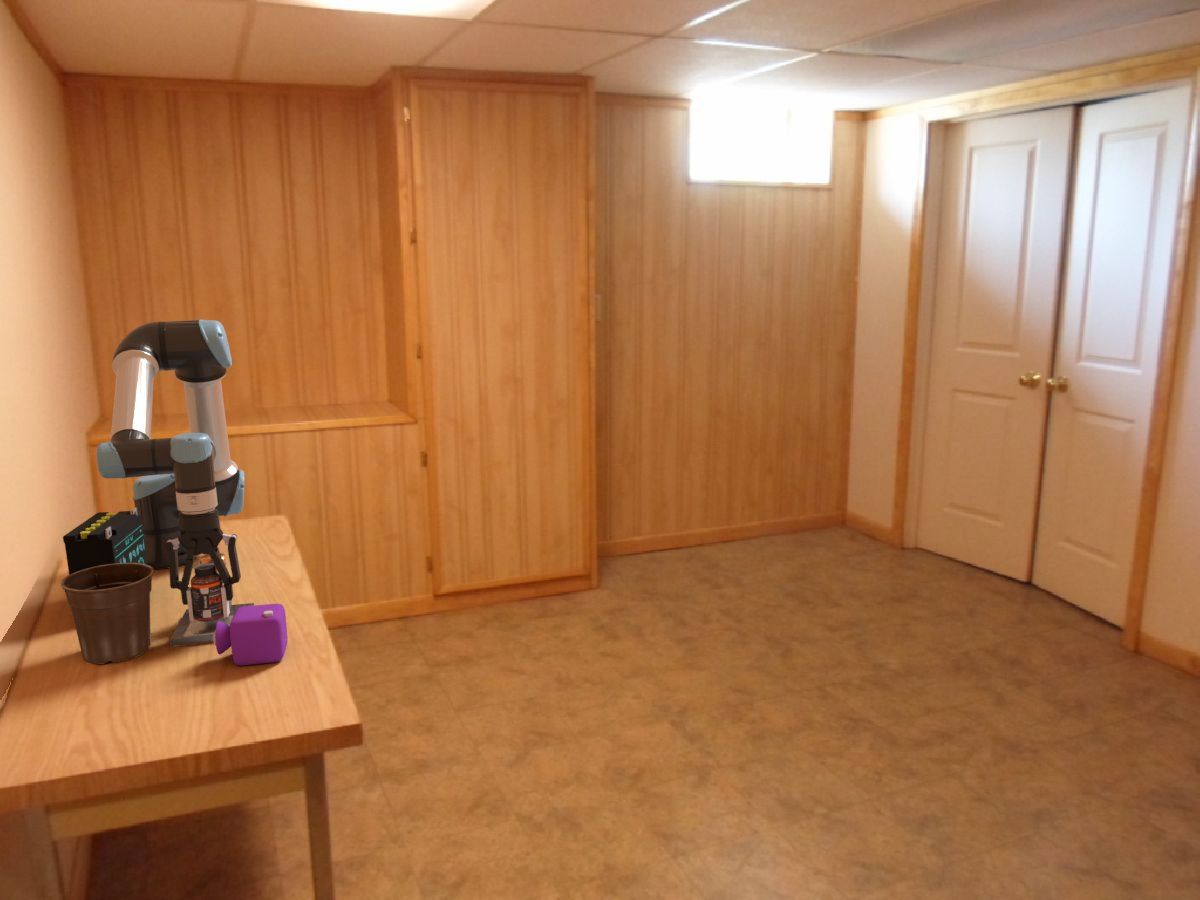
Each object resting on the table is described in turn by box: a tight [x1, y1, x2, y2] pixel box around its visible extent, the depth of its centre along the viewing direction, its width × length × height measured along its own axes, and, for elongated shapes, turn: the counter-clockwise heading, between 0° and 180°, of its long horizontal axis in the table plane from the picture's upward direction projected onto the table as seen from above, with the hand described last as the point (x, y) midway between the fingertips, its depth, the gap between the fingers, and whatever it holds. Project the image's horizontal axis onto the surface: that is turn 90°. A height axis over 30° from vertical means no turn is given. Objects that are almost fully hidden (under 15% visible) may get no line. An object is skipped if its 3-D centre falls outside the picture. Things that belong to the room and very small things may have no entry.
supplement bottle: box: [190, 563, 224, 622], centre depth 190 cm, size 6×6×11 cm
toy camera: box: [212, 603, 289, 666], centre depth 179 cm, size 11×14×10 cm
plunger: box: [199, 552, 227, 574], centre depth 198 cm, size 5×5×7 cm
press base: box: [169, 581, 255, 647], centre depth 194 cm, size 17×14×9 cm
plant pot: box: [60, 563, 155, 665], centre depth 182 cm, size 16×16×16 cm
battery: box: [62, 506, 147, 576], centre depth 208 cm, size 19×10×20 cm, turn 8°
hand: (209, 616), depth 191 cm, fingers closed on supplement bottle, 6 cm apart
